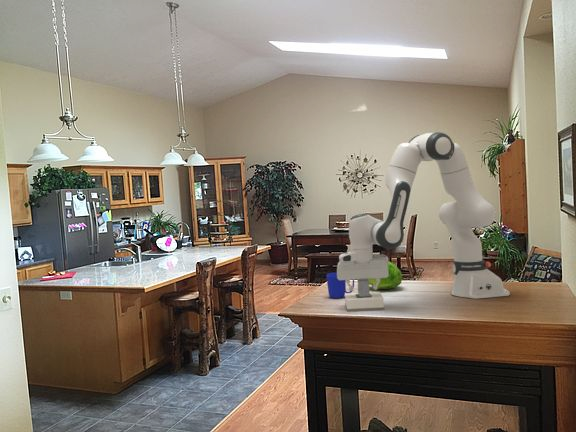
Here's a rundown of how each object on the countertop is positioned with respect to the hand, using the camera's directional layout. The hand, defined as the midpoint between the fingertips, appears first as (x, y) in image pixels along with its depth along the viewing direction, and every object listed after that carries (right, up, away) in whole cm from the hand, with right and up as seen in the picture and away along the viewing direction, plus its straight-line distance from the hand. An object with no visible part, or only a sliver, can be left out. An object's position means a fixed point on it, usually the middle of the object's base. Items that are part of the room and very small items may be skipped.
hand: (363, 290), depth 199 cm
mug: (-6, -6, +21) cm, 23 cm away
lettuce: (+13, -5, +33) cm, 35 cm away
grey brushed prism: (0, -6, 0) cm, 6 cm away
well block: (0, -7, 0) cm, 7 cm away
